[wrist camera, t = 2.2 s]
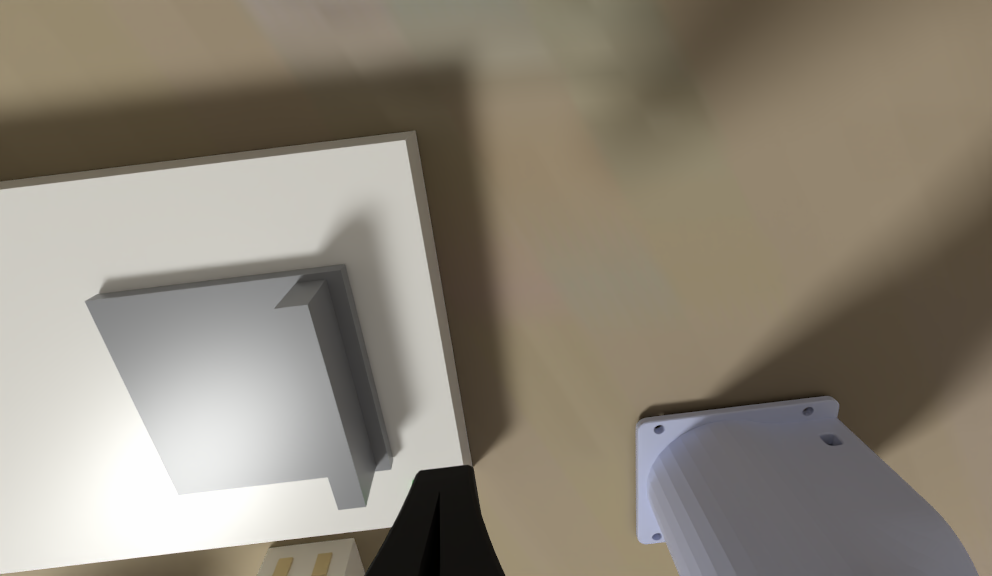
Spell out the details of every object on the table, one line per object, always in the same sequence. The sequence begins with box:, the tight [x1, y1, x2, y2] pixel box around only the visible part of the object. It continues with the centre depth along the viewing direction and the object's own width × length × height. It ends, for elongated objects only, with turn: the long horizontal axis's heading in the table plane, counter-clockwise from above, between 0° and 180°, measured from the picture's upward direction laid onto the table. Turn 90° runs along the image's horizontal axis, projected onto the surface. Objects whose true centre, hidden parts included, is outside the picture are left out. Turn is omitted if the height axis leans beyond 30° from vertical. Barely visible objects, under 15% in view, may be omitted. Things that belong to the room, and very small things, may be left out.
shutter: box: [85, 264, 393, 510], centre depth 17 cm, size 8×8×3 cm
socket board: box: [0, 131, 473, 574], centre depth 20 cm, size 21×16×3 cm
